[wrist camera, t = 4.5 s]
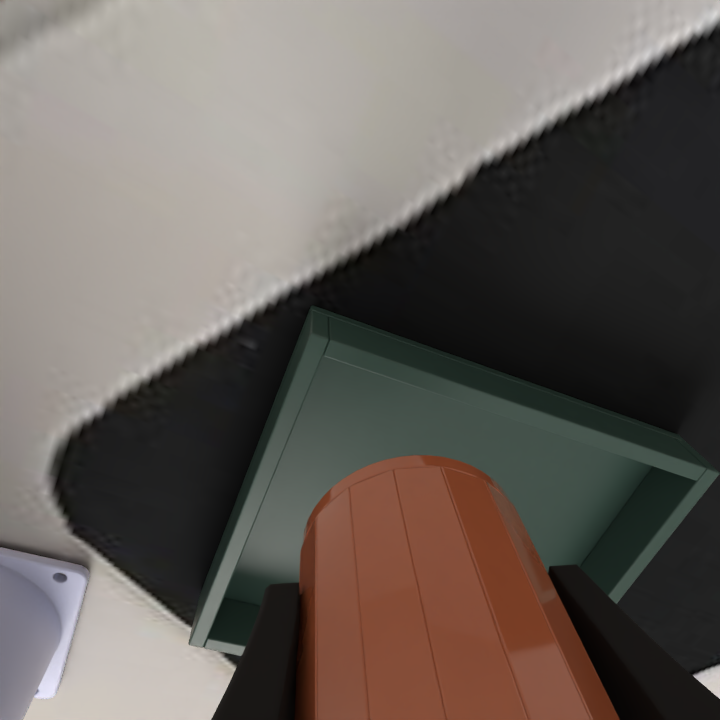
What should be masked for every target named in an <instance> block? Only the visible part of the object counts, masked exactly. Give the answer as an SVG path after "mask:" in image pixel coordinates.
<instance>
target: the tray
mask: <svg viewBox="0 0 720 720" xmlns="http://www.w3.org/2000/svg"><path fill="white" fill-rule="evenodd" d="M409 455H432V456H441V457H446V458H451V459H455V460H458V461H461V462H464V463H467V464H469V465H471V466H473V467H475V468H477V469H479V470H481V471H483V472H484V473H485V474H487V475H488V476H489V477H491V478H492V479H493V480H494V481H495V482H496V483H498V484H499V485H500V486H501V487H502V489H503V490H504V492H505V493H506V494H507V496H508V497H509V499H510V501H511V503H513V505H514V506H515V508H516V510H517V512H518V514H519V516H520V518H521V520H522V522H523V524H524V526H525V528H526V530H527V532H528V534H529V536H530V538H531V540H532V542H533V545H534V547H535V549H536V551H537V553H538V555H539V557H540V559H541V561H542V563H543V565H544V567H545V569H546V571H547V573H548V571H549V566H558V565H573V564H577V565H578V566H579V567H580V568H581V569H582V570H583V571H584V572H585V573H586V574H587V575H588V576H589V577H590V578H591V579H592V580H593V581H594V582H595V583H596V584H597V585H598V586H599V587H600V588H601V589H602V590H603V591H604V592H605V593H606V594H607V595H608V596H609V597H610V598H611V599H612V600H613V601H614V602H615V603H616V604H617V602H618V601H619V600H620V599H621V597H622V596H623V595H624V594H625V592H626V591H627V590H628V588H629V587H630V586H631V585H632V583H633V582H634V581H635V580H636V578H637V577H638V576H639V575H640V573H641V572H642V571H643V570H644V568H645V567H646V566H647V564H648V563H649V562H650V561H651V559H652V558H653V557H654V556H655V554H656V553H657V552H658V551H659V549H660V548H661V547H662V546H663V544H664V543H665V542H666V541H667V539H668V538H669V537H670V535H671V534H672V533H673V532H674V530H675V529H676V528H677V527H678V525H679V524H680V523H681V522H682V520H683V519H684V518H685V517H686V515H687V514H688V513H689V511H690V510H691V509H692V508H693V506H694V505H695V504H696V503H697V501H698V500H699V499H700V498H701V496H702V495H703V494H704V493H705V491H706V490H707V489H708V487H709V486H710V485H711V484H712V482H713V481H714V480H715V479H716V477H717V476H718V475H719V472H718V471H717V470H716V469H715V468H714V467H713V466H712V465H711V464H710V463H708V462H707V461H706V460H705V459H704V458H703V457H702V456H701V455H700V454H699V453H698V452H696V451H695V450H694V449H693V448H692V447H691V446H690V445H689V444H688V443H687V442H685V441H684V440H683V439H682V438H681V437H680V436H679V435H678V434H675V433H672V432H669V431H666V430H664V429H661V428H658V427H655V426H652V425H649V424H647V423H644V422H641V421H638V420H635V419H632V418H630V417H627V416H624V415H621V414H618V413H615V412H613V411H610V410H607V409H604V408H601V407H599V406H596V405H593V404H590V403H587V402H584V401H582V400H579V399H576V398H573V397H570V396H567V395H565V394H562V393H559V392H556V391H553V390H551V389H548V388H545V387H542V386H539V385H536V384H534V383H531V382H528V381H525V380H522V379H519V378H517V377H514V376H511V375H508V374H505V373H503V372H500V371H497V370H494V369H491V368H488V367H486V366H483V365H480V364H477V363H474V362H471V361H469V360H466V359H463V358H460V357H457V356H455V355H452V354H449V353H446V352H443V351H440V350H438V349H435V348H432V347H429V346H426V345H423V344H421V343H418V342H415V341H412V340H409V339H407V338H404V337H401V336H398V335H395V334H392V333H390V332H387V331H384V330H381V329H378V328H375V327H373V326H370V325H367V324H364V323H361V322H358V321H356V320H353V319H350V318H347V317H344V316H342V315H339V314H336V313H333V312H330V311H327V310H325V309H322V308H319V307H316V306H313V305H312V306H311V307H310V309H309V312H308V315H307V317H306V320H305V322H304V325H303V328H302V330H301V333H300V335H299V338H298V341H297V343H296V346H295V348H294V351H293V354H292V356H291V359H290V361H289V364H288V367H287V369H286V372H285V374H284V377H283V380H282V382H281V385H280V387H279V390H278V393H277V395H276V398H275V400H274V403H273V406H272V408H271V411H270V413H269V416H268V419H267V421H266V424H265V426H264V429H263V432H262V434H261V437H260V439H259V442H258V445H257V447H256V450H255V452H254V455H253V458H252V460H251V463H250V465H249V468H248V471H247V473H246V476H245V478H244V481H243V484H242V486H241V489H240V491H239V494H238V497H237V499H236V502H235V504H234V507H233V510H232V512H231V515H230V517H229V520H228V523H227V525H226V528H225V530H224V533H223V536H222V538H221V541H220V543H219V546H218V549H217V551H216V554H215V556H214V559H213V562H212V564H211V567H210V569H209V572H208V575H207V577H206V580H205V582H204V585H203V588H202V590H201V593H200V597H199V602H198V605H197V609H196V614H195V618H194V622H193V626H192V631H191V635H190V639H189V645H191V646H196V647H201V648H203V647H204V648H205V649H210V650H215V651H220V652H225V653H230V654H235V655H240V656H242V654H243V652H244V649H245V647H246V645H247V642H248V640H249V637H250V634H251V632H252V629H253V627H254V624H255V621H256V618H257V616H258V613H259V610H260V606H261V603H262V600H263V596H264V592H265V589H266V588H267V587H268V586H269V585H270V584H282V583H297V582H299V571H300V552H301V547H302V539H303V533H304V529H305V526H306V524H307V521H308V518H309V517H310V515H311V513H312V511H313V509H314V508H315V506H316V505H317V504H318V502H319V501H320V500H321V498H322V497H323V496H324V495H325V494H326V493H327V492H328V491H329V490H330V489H331V488H332V487H333V486H334V485H336V484H337V483H338V482H339V481H341V480H342V479H343V478H345V477H347V476H348V475H350V474H351V473H353V472H355V471H357V470H359V469H361V468H363V467H365V466H367V465H370V464H373V463H376V462H379V461H382V460H385V459H390V458H395V457H400V456H409Z"/></svg>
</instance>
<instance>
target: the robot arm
mask: <svg viewBox="0 0 720 720" xmlns="http://www.w3.org/2000/svg"><path fill="white" fill-rule="evenodd" d="M60 573H63V574H65V575H63V574H60ZM548 575H549V577H550V579H551V581H552V583H553V585H554V587H555V589H556V591H557V593H558V595H559V597H560V599H561V601H562V603H563V605H564V607H565V609H566V611H567V613H568V615H569V617H570V619H571V621H572V623H573V625H574V627H575V630H576V632H577V634H578V636H579V638H580V640H581V642H582V644H583V646H584V648H585V650H586V652H587V654H588V656H589V658H590V660H591V662H592V664H593V666H594V668H595V670H596V672H597V674H598V676H599V678H600V680H601V682H602V684H603V686H604V688H605V690H606V692H607V694H608V696H609V698H610V700H611V702H612V704H613V706H614V708H615V710H616V712H617V714H618V717H619V719H620V720H720V699H719V698H718V697H717V696H715V695H714V694H713V693H712V692H711V691H710V690H708V689H707V688H706V687H705V686H704V685H703V684H701V683H700V682H699V681H698V680H697V679H696V678H694V677H693V676H692V675H691V674H690V673H689V672H688V671H686V670H685V669H684V668H683V667H682V666H681V665H680V664H679V663H678V662H676V661H675V660H674V659H673V658H672V657H671V656H670V655H669V654H668V653H667V652H666V651H665V650H663V649H662V648H661V647H660V646H659V645H658V644H657V643H656V642H655V641H654V640H653V639H652V638H651V637H650V636H649V635H648V634H646V633H645V632H644V631H643V630H642V629H641V628H640V627H639V626H638V625H637V624H636V623H635V622H634V621H633V620H632V619H631V618H630V617H629V616H628V615H627V614H626V613H625V612H624V611H623V610H622V609H621V608H620V607H619V606H618V605H617V604H616V603H615V602H614V601H613V600H612V599H611V598H610V597H609V596H608V595H607V594H606V593H605V592H604V591H603V590H602V589H601V588H600V587H599V586H598V585H597V584H596V583H595V582H594V581H593V580H592V579H591V578H590V577H589V576H588V575H587V574H586V573H585V572H584V571H583V570H582V569H581V568H580V567H579V566H578V565H577V564H573V565H558V566H549V571H548ZM89 577H90V573H89V571H88V569H86V568H85V567H84V566H82V565H79V564H74V563H70V562H65V561H61V560H56V559H52V558H47V557H43V556H38V555H34V554H29V553H25V552H20V551H16V550H11V549H7V548H2V547H0V720H23V719H24V716H25V714H26V712H27V710H28V708H29V706H30V704H31V702H32V700H33V698H40V699H50V698H52V697H54V696H55V695H56V693H57V691H58V689H59V686H60V683H61V679H62V675H63V672H64V668H65V665H66V661H67V657H68V654H69V650H70V646H71V643H72V639H73V635H74V632H75V628H76V624H77V621H78V617H79V613H80V610H81V606H82V603H83V599H84V595H85V592H86V588H87V584H88V581H89ZM299 609H300V589H299V582H297V583H282V584H270V585H269V586H268V587H267V588H266V589H265V592H264V596H263V600H262V603H261V606H260V610H259V613H258V616H257V618H256V621H255V624H254V627H253V629H252V632H251V634H250V637H249V640H248V642H247V645H246V647H245V649H244V652H243V654H242V656H241V659H240V661H239V663H238V665H237V668H236V670H235V672H234V675H233V677H232V679H231V681H230V683H229V685H228V688H227V690H226V692H225V694H224V696H223V698H222V700H221V702H220V704H219V706H218V708H217V710H216V712H215V714H214V716H213V718H212V720H294V713H295V684H296V661H297V647H298V638H299Z"/></svg>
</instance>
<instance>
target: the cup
mask: <svg viewBox="0 0 720 720" xmlns="http://www.w3.org/2000/svg"><path fill="white" fill-rule="evenodd" d="M299 589H300V609H299V638H298V647H297V661H296V684H295V713H294V720H620V719H619V717H618V714H617V712H616V710H615V708H614V706H613V704H612V702H611V700H610V698H609V696H608V694H607V692H606V690H605V688H604V686H603V684H602V682H601V680H600V678H599V676H598V674H597V672H596V670H595V668H594V666H593V664H592V662H591V660H590V658H589V656H588V654H587V652H586V650H585V648H584V646H583V644H582V642H581V640H580V638H579V636H578V634H577V632H576V630H575V627H574V625H573V623H572V621H571V619H570V617H569V615H568V613H567V611H566V609H565V607H564V605H563V603H562V601H561V599H560V597H559V595H558V593H557V591H556V589H555V587H554V585H553V583H552V581H551V579H550V577H549V575H548V573H547V571H546V569H545V567H544V565H543V563H542V561H541V559H540V557H539V555H538V553H537V551H536V549H535V547H534V545H533V542H532V540H531V538H530V536H529V534H528V532H527V530H526V528H525V526H524V524H523V522H522V520H521V518H520V516H519V514H518V512H517V510H516V508H515V506H514V505H513V503H511V501H510V499H509V497H508V496H507V494H506V493H505V492H504V490H503V489H502V487H501V486H500V485H499V484H498V483H496V482H495V481H494V480H493V479H492V478H491V477H489V476H488V475H487V474H485V473H484V472H483V471H481V470H479V469H477V468H475V467H473V466H471V465H469V464H467V463H464V462H461V461H458V460H455V459H451V458H446V457H441V456H432V455H409V456H400V457H395V458H390V459H385V460H382V461H379V462H376V463H373V464H370V465H367V466H365V467H363V468H361V469H359V470H357V471H355V472H353V473H351V474H350V475H348V476H347V477H345V478H343V479H342V480H341V481H339V482H338V483H337V484H336V485H334V486H333V487H332V488H331V489H330V490H329V491H328V492H327V493H326V494H325V495H324V496H323V497H322V498H321V500H320V501H319V502H318V504H317V505H316V506H315V508H314V509H313V511H312V513H311V515H310V517H309V518H308V521H307V524H306V526H305V529H304V533H303V539H302V547H301V552H300V571H299Z"/></svg>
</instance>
